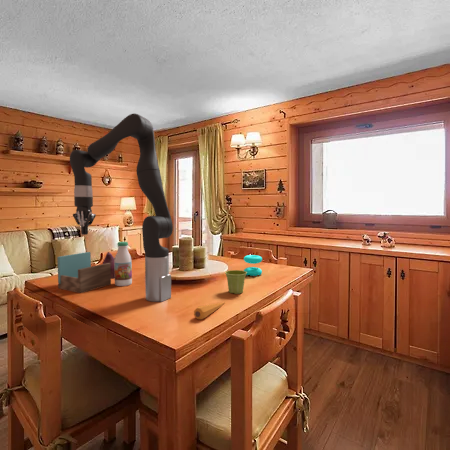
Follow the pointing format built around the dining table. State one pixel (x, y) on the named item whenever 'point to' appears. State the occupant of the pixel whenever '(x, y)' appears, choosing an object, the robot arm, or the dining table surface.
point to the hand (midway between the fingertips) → (84, 234)
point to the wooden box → (87, 279)
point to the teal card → (72, 264)
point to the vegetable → (111, 260)
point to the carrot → (206, 310)
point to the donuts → (253, 260)
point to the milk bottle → (123, 265)
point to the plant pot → (235, 280)
